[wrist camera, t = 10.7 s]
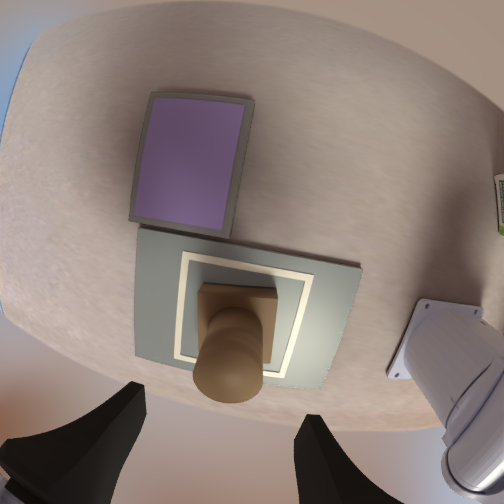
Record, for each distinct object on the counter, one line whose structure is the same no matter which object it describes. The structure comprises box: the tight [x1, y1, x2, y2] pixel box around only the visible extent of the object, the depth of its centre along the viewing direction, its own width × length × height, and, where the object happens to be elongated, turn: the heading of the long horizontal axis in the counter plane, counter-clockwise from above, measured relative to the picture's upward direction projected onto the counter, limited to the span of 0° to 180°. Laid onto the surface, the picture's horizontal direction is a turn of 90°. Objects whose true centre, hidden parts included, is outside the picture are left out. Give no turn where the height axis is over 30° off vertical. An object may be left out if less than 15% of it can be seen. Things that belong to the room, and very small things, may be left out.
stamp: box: [193, 282, 278, 403], centre depth 16 cm, size 5×5×7 cm
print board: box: [134, 227, 363, 390], centre depth 20 cm, size 16×11×1 cm
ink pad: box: [129, 92, 255, 239], centre depth 17 cm, size 7×9×1 cm
